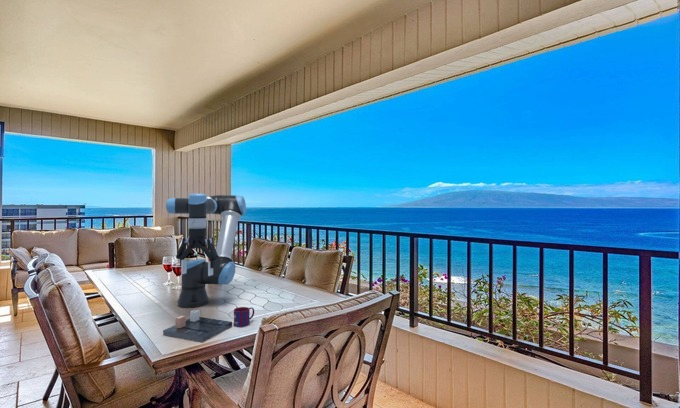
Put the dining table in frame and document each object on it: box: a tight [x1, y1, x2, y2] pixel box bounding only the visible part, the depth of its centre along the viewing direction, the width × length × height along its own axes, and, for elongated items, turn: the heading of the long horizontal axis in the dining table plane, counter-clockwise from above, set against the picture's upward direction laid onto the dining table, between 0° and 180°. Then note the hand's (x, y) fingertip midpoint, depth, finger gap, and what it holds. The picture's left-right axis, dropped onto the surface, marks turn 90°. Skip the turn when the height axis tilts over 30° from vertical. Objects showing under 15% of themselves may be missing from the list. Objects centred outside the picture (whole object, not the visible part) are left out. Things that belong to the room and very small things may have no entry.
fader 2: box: [189, 309, 200, 322], centre depth 148 cm, size 2×3×4 cm
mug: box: [233, 306, 255, 328], centre depth 151 cm, size 7×10×7 cm
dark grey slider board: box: [162, 316, 233, 343], centre depth 142 cm, size 20×18×2 cm
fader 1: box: [174, 315, 187, 328], centre depth 140 cm, size 2×3×4 cm
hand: (197, 274), depth 153 cm, fingers open, 13 cm apart
